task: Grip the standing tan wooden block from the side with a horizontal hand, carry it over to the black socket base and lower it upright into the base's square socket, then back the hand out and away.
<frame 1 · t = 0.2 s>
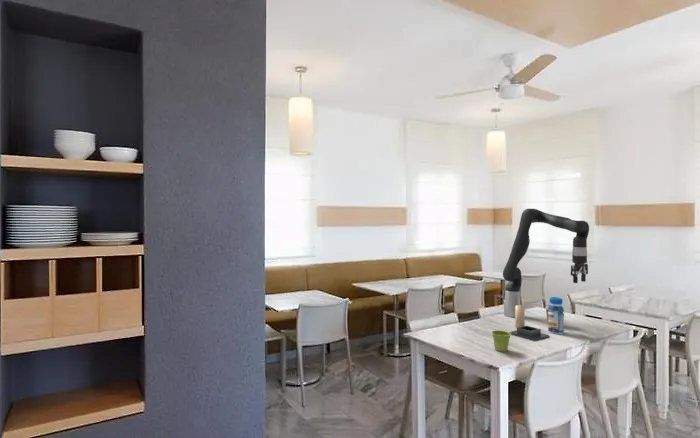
hand: (579, 282, 237), 29 cm above the table, tool pointing down, fingers open, 8 cm apart
plant pot: (501, 350, 205), on the table
black socket base: (528, 335, 229), on the table
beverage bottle: (555, 332, 235), on the table
tan wooden block: (520, 327, 246), on the table
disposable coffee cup: (553, 325, 250), on the table
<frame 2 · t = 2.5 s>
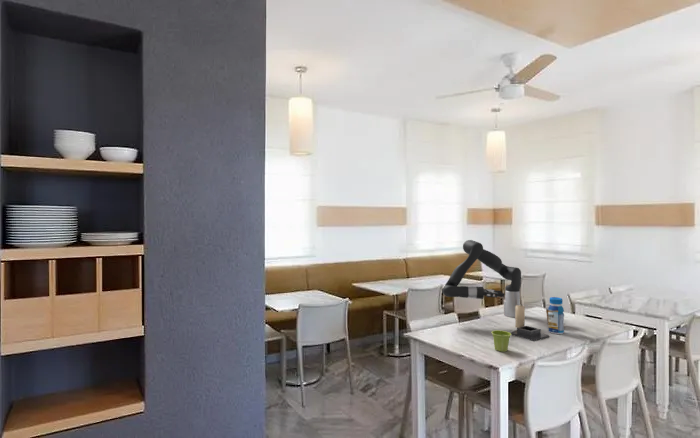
hand: (502, 293, 248), 20 cm above the table, tool horizontal, fingers open, 8 cm apart
nothing on the table moved.
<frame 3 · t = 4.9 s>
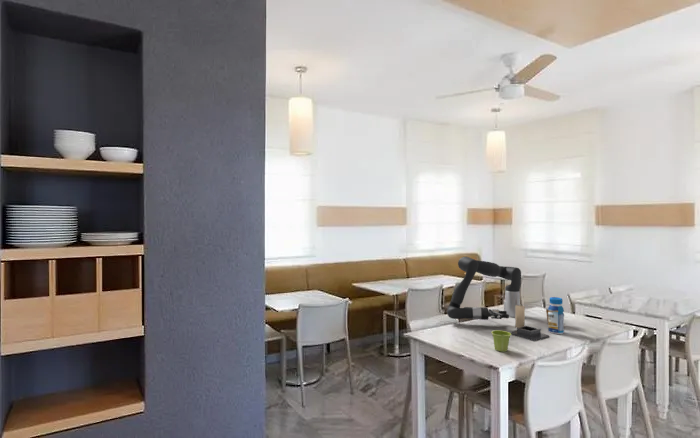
hand: (507, 314, 248), 7 cm above the table, tool horizontal, fingers open, 8 cm apart
nothing on the table moved.
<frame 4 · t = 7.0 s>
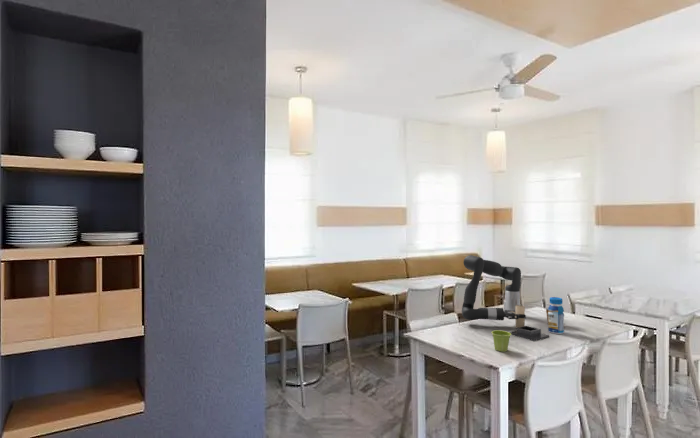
hand: (524, 315, 246), 8 cm above the table, tool horizontal, fingers closed on tan wooden block, 5 cm apart
tan wooden block: (520, 327, 246), on the table, touching gripper
everything else where it was.
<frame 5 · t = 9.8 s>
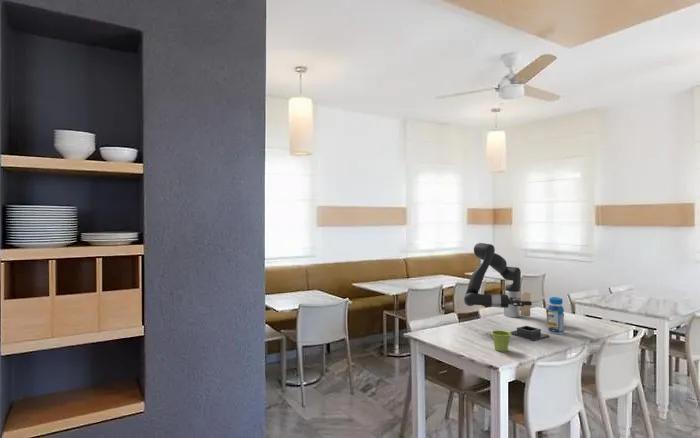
hand: (530, 302, 233), 18 cm above the table, tool horizontal, fingers closed on tan wooden block, 5 cm apart
tan wooden block: (525, 315, 234), point 11 cm above the table, touching gripper
everything else where it was.
when the fingers open (10 cm above the table, at t = 12.6 s): tan wooden block drops 1 cm, resting on black socket base.
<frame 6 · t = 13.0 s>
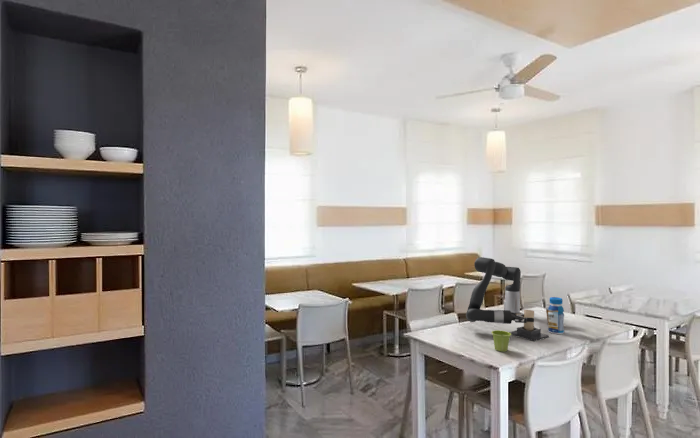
hand: (532, 318, 229), 10 cm above the table, tool horizontal, fingers open, 8 cm apart
tan wooden block: (528, 333, 229), point 1 cm above the table, touching black socket base
everything else where it was.
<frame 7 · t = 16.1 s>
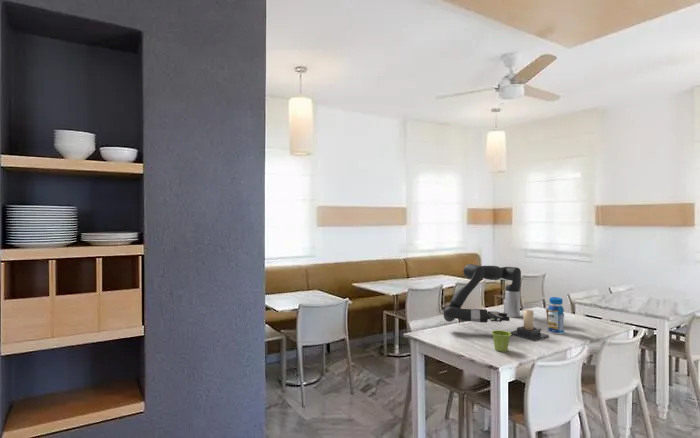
hand: (508, 317, 232), 10 cm above the table, tool horizontal, fingers open, 8 cm apart
nothing on the table moved.
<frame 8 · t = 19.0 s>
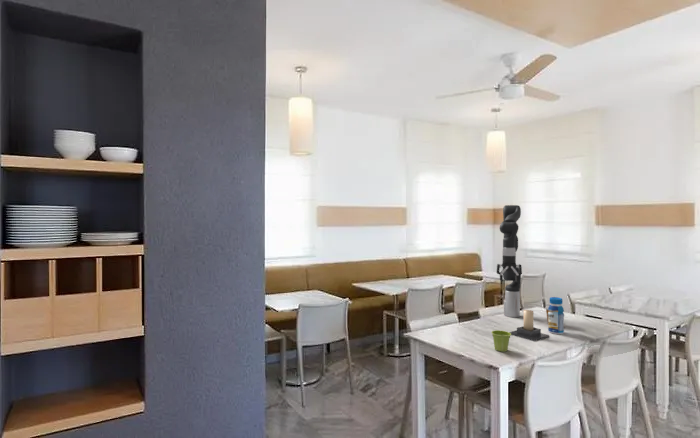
hand: (509, 281, 247), 28 cm above the table, tool pointing down, fingers open, 8 cm apart
nothing on the table moved.
at the end: tan wooden block 0.1 cm off-centre on the black socket base, point 1.0 cm above the black socket base's base; tan wooden block tilted 0°; the gripper is holding nothing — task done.
